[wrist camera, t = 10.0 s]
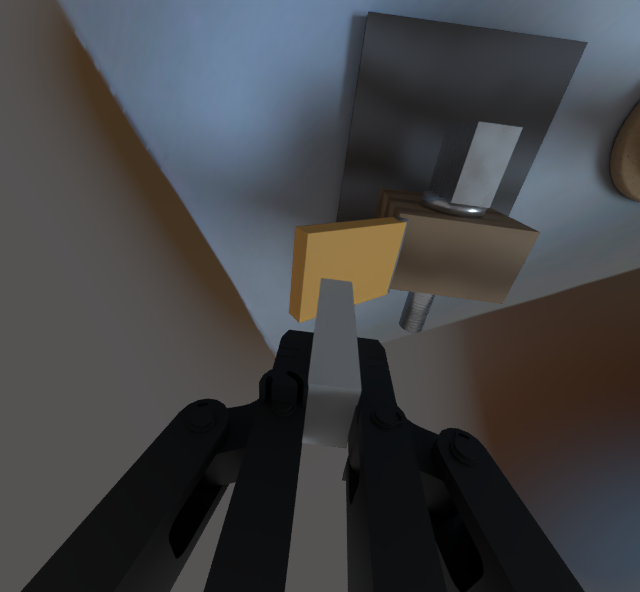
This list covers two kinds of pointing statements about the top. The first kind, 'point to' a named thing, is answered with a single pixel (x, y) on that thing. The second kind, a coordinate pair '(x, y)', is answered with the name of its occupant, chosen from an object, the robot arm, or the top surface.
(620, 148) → the candle holder
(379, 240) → the plate
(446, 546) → the robot arm
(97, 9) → the top surface
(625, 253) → the top surface
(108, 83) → the top surface
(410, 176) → the hitch block
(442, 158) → the lynch pin
